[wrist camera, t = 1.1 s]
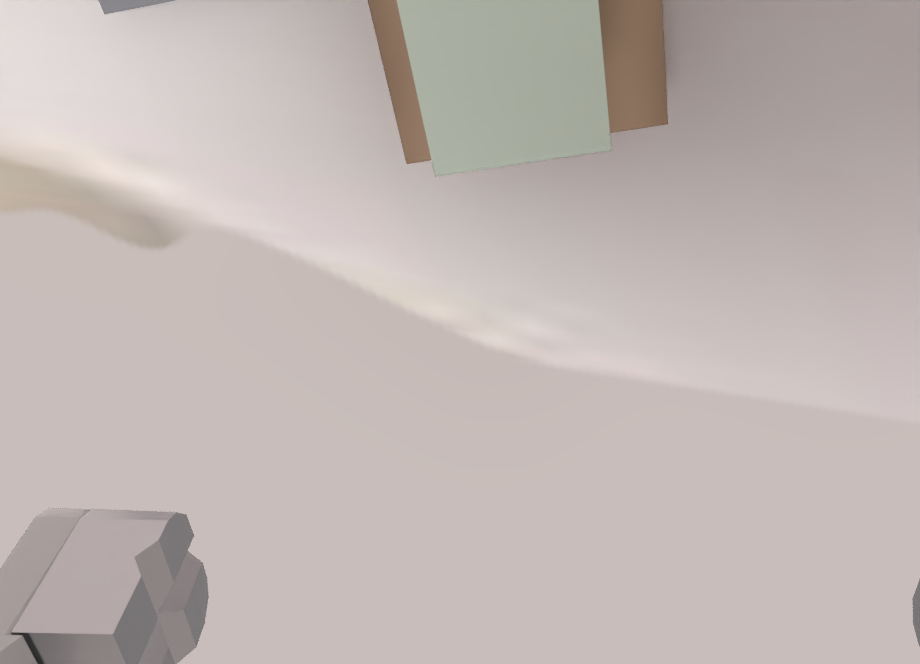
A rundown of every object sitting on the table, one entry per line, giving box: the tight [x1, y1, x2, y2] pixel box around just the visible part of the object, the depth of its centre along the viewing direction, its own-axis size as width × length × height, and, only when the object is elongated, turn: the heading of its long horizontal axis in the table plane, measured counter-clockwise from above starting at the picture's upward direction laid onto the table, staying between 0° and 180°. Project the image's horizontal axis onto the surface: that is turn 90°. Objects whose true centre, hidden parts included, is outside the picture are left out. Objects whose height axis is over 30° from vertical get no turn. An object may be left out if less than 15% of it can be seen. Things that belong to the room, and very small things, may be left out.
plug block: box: [397, 0, 611, 177], centre depth 24 cm, size 5×5×8 cm
